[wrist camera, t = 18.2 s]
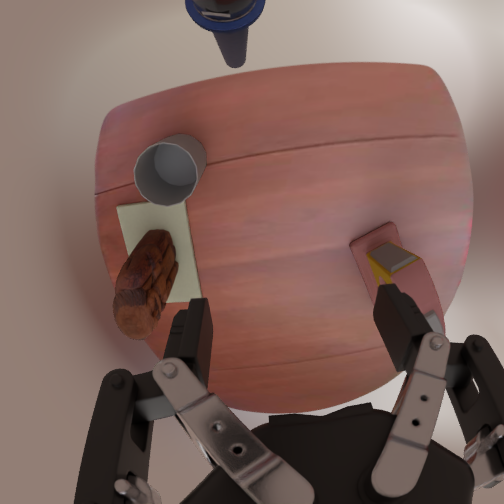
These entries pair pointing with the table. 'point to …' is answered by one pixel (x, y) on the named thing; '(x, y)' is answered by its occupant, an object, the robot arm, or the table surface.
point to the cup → (170, 170)
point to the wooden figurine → (145, 284)
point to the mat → (176, 222)
